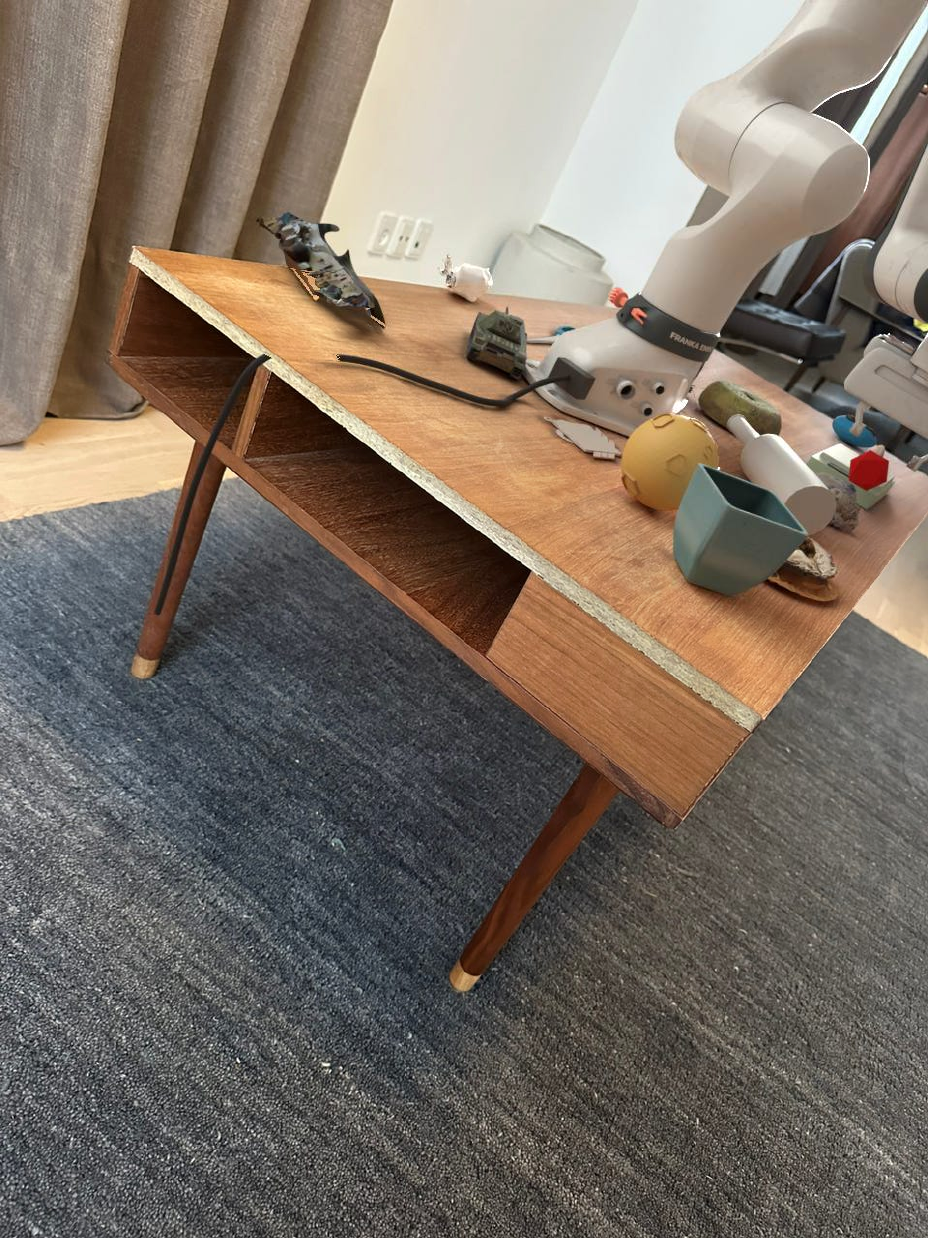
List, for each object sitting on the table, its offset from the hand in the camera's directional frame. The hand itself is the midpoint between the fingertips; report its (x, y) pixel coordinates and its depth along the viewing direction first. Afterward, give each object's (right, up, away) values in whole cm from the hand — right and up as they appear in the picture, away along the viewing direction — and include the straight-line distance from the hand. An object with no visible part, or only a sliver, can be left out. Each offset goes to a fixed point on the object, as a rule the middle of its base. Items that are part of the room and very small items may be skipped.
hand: (882, 451), depth 133 cm
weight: (-19, +6, +9) cm, 22 cm away
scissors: (-41, +20, +13) cm, 48 cm away
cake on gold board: (-32, -22, -37) cm, 54 cm away
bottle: (-20, -12, -26) cm, 35 cm away
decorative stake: (+9, +4, +20) cm, 22 cm away
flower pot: (-38, -21, -46) cm, 63 cm away
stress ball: (-42, -12, -36) cm, 56 cm away
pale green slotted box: (-1, -3, +10) cm, 10 cm away
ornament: (+8, +11, +33) cm, 35 cm away
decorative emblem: (-42, -6, -27) cm, 51 cm away
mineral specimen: (-14, -10, -11) cm, 21 cm away
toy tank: (-57, +10, -15) cm, 60 cm away
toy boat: (-78, +13, -17) cm, 81 cm away
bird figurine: (-64, +25, -1) cm, 69 cm away
